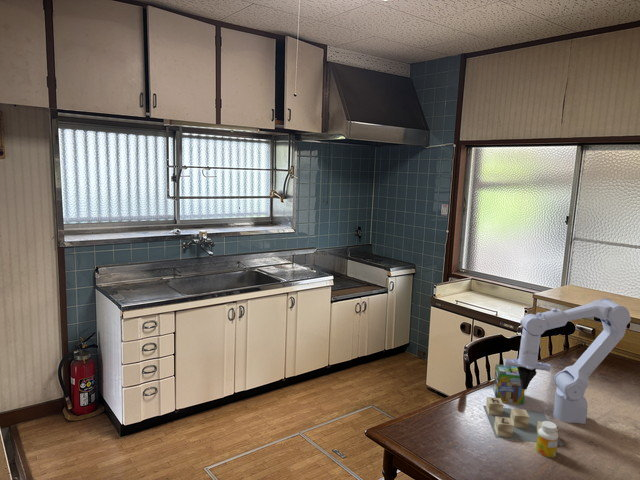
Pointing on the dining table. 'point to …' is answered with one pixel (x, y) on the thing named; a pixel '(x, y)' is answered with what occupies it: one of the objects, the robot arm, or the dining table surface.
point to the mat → (521, 433)
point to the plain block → (519, 418)
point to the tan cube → (540, 426)
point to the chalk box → (508, 384)
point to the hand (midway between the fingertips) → (523, 388)
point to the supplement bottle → (547, 439)
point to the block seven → (503, 426)
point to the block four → (494, 406)
